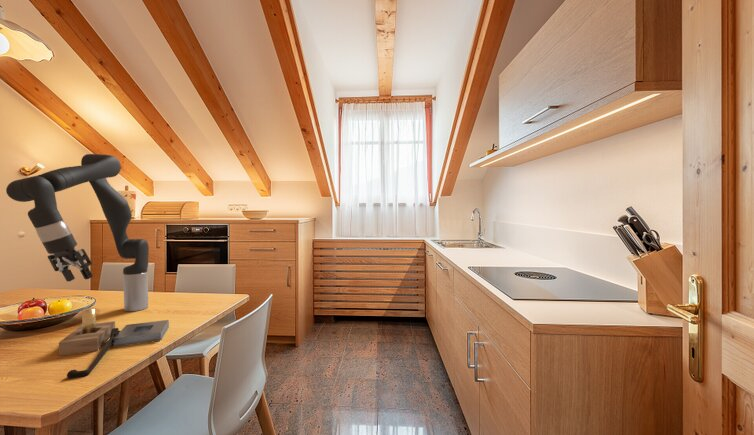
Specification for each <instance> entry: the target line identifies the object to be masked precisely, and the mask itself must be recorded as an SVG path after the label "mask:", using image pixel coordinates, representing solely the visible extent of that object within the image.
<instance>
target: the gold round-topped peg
mask: <svg viewBox="0 0 754 435" xmlns="http://www.w3.org/2000/svg"><path fill="white" fill-rule="evenodd" d="M96 317H97V316H96V308H95V307H88V308H84V309H81V325H82V332H83V334H88V333H96V323H97V322H96V321H97V320H96V319H97V318H96Z"/></svg>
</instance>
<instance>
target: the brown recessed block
mask: <svg viewBox="0 0 754 435" xmlns="http://www.w3.org/2000/svg"><path fill="white" fill-rule="evenodd" d="M113 328H116V321H115V320H113V321H102V322H96V333H88V334H83V332H82V324H81V325H80V326H79V327H77V328H76V329H75V330H73V331H72V332H71V333H69V334H68V335H67V336H66V337H64V338H63V339H61V340H60V341H59V342H58V356H59V357H62V356H68V355H69V356H70V354H71V355H76V353H78V354H84V353H83V352H85V353H91V352H90V351H92V352H98V351H99V350H100V349H101V348H102V347H103V346H104V345H106V343H107V342H108V341H109V340H108V339H109V338H110V334H111V331H112V329H113ZM107 340H108V341H107ZM106 341H107V342H106ZM105 342H106V343H105ZM103 344H104V345H103ZM100 347H101V348H100ZM98 349H99V350H98Z"/></svg>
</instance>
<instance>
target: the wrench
mask: <svg viewBox="0 0 754 435" xmlns="http://www.w3.org/2000/svg"><path fill="white" fill-rule="evenodd" d="M120 331H121V330H119V327H115V328H113V329H112V331H111V334H110V339H109V340H108V341H107V342H106V343H105V344H104V345H103V346H104V347H103V348H101V351H100V352H99V353H98V355H96V357H95V359H94V360H93V362H92V363H90V365H89V366H88V368H87V369H85V370H77V369H71V370H68V372H67V374H66V378H67V379H75V378H76V379H77V378H81V377H87V376H89V375H90V374H91V372H92V371H93V370H94V369H95V367H96V366H97V365H98V363H99V362H100V361H101V360H102V358H103V357H104V356H105V354H107V352H108V351H109V349H110V348H111V346H112V345H114V340H113V339H114V337H115V336H116V335H117V334H118V333H119V332H120Z"/></svg>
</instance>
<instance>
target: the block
mask: <svg viewBox="0 0 754 435" xmlns="http://www.w3.org/2000/svg"><path fill="white" fill-rule="evenodd" d="M169 328H170V320H169V319H166V320H155V321H147V322H139V323H138V322H136V323H131V324H125V325H124V327H122V329H121V330H119V331H120V332H119V333H118V334H117V335H116V336H115V337H114V339H113V340H114V343H113V348H114V347H123V346H124V347H125V346H130V345H131V344H132V345H138V343H140V344H146V343H145V342H147V343H153V342H152V341H154V342H160V340H161V341H162V340H163V338H164V336H165V335H166V333H167V331H168V330H169Z"/></svg>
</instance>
